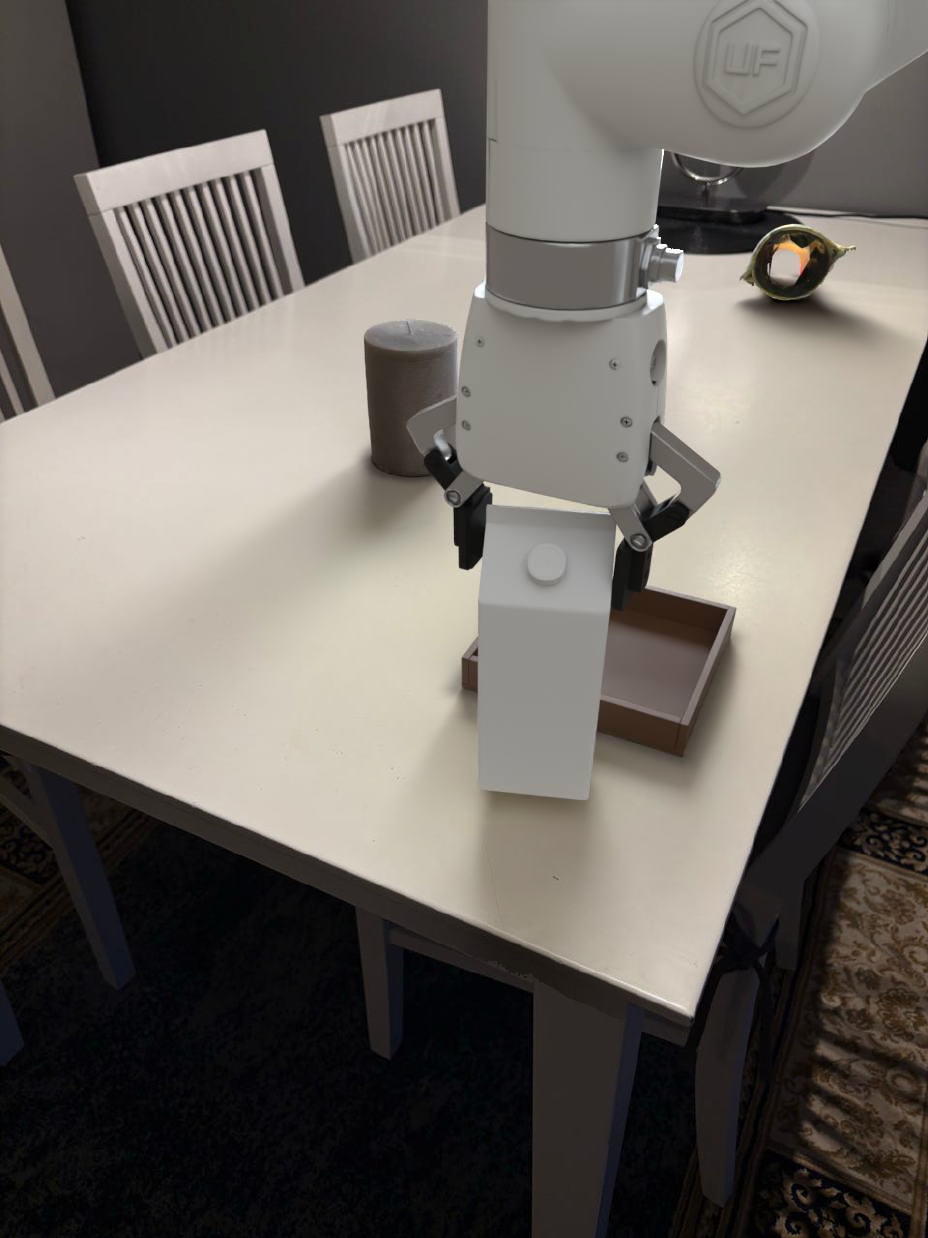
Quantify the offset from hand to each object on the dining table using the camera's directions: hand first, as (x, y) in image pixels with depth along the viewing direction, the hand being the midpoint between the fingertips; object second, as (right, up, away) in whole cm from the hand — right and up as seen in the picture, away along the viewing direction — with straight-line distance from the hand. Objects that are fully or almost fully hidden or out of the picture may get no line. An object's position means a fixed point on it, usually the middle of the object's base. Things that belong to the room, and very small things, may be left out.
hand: (547, 576), depth 52 cm
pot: (+47, +50, +94) cm, 116 cm away
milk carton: (0, -12, +9) cm, 15 cm away
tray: (+6, -6, +20) cm, 22 cm away
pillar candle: (-10, +15, +49) cm, 52 cm away
